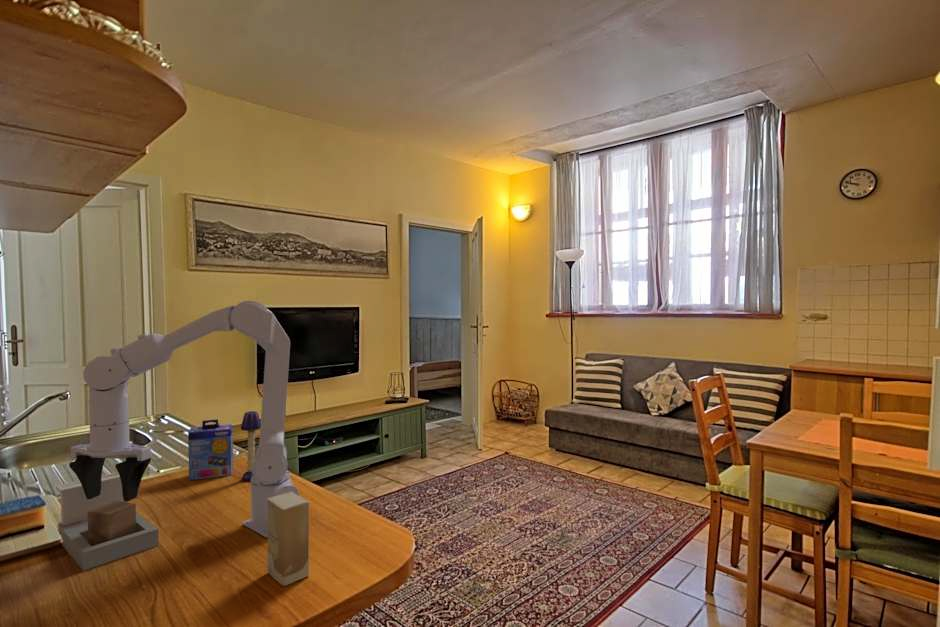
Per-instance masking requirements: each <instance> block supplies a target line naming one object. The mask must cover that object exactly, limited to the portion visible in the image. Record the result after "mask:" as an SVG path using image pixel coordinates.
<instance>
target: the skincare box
mask: <svg viewBox="0 0 940 627" xmlns="http://www.w3.org/2000/svg"><path fill="white" fill-rule="evenodd" d="M267 500H268V537H267V572H268V574H269V575H270V576H271V577H272V578H273V579H274V580H275V581H276V582H278V584H280V585H281V586H282V585H283V586H285V585H287V584H290V583H292V584H294V583H293V582H295V581H297V580H300V579H302V578H304V577H306V576H308V575H309V576H310V570H309V568H310V563H309V562H310V558H309V557H310V551H309V549H310V545H309V544H310V543H309V541H310V540H309V539H310V536H309V535H310V532H309V531H310V527H309V526H310V519H309V518H310V516H309V515H310V512H309V511H310V508H309V507H310V506H309V505H310V502H309V501H308V500H306V499H304V498H303V497H302V496H298V495H297V494H295V493H293V492H289V493H285V494H281V495H278V496H274V497H271V498H268V499H267ZM304 579H305V578H304ZM302 580H303V579H302ZM300 581H301V580H300ZM297 582H298V581H297ZM295 583H296V582H295ZM290 585H291V584H290ZM283 586H282V587H283ZM287 586H288V585H287ZM285 587H286V586H285Z"/></svg>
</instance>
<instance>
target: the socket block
mask: <svg viewBox="0 0 940 627" xmlns="http://www.w3.org/2000/svg"><path fill="white" fill-rule="evenodd" d="M55 487H56V491H58V493H60V518H61V521H60V522H61V523H58V524H57V533H58V532H59V534H60V535H61V537H62V539H63V545H62V547H63V548H64V547H65V548H64V549H65V550H66V551H67V553H68V554H69V555H70V557H71V558H73V560H74V561H75V562H76V563H77V565H78V566H79V567H80V569H82V571H88V570H91V569H93V568H96V567H99V566H102V565H105V564H107V563H110V562H114V561H117V560H120V559H123V558H126V557H129V556H131V555H134V554H137V553H141V552H144V551H146V550H147V551H148V550H149V549H153V548H155V547H158V546H159V545H160V544H159V528H157V527H156V526H155V525H153V523H152V522H150V521H148V520H147V519H146V518H145V517H143V516H142V515H141V514H139V513H138V512H137V511H136V533H133V534H130V535H127V536H124V537H120V538H117V539H114V540H111V541H108V542H104V543H101V544H98V545H95V546H91V545H90V544H89V543H88V511H90V510H92V509H95V508H97V507H100V506H102V505H105V504H108V503H110V502H113V501H122V502H124V499H123V494H122V483H121V479H120V476H119V473H118V471H117V472H113V473H108V474H104V475H103V474H102V476H101V492H100V495H99V496H97V497H94V498H92V499H87V498H86V496H85V493H84V490H83V487H82V485H81V483H80V480H77V481H73V482H68V483H64V484H60V485H59V484H58V485H56V486H55Z"/></svg>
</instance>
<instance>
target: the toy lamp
mask: <svg viewBox="0 0 940 627" xmlns="http://www.w3.org/2000/svg"><path fill="white" fill-rule="evenodd" d="M260 427H261V418H260V416H259V413H258V411H253V410H251V411H246V412H244V415H243V418H242V421H241V425H240V430H242V431H245V432H247V456H246V457H247V461H246V462H247V467H246V468H247V469H246V472H244V473H243V475H242V477H241V480H242V481H243V482H251V477H252V476H253V473H252V464H253V462H254V453H255V450H256V448H255V446H256V441H255V440H256V435H255V433H256V430H260Z"/></svg>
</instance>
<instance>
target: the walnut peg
mask: <svg viewBox="0 0 940 627" xmlns="http://www.w3.org/2000/svg"><path fill="white" fill-rule="evenodd" d="M136 505H137V504H136V503H135V502H130V501H128V502H122V501H113V502H110V503H108V504H105V505H102V506H100V507H97V508H95V509H92V510H90V511H88V543H89V544H90V545H91V546H95V545H98V544H101V543H104V542H108V541H111V540H114V539H117V538H120V537H124V536H127V535H130V534H133V533H136V512H137V506H136Z"/></svg>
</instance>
